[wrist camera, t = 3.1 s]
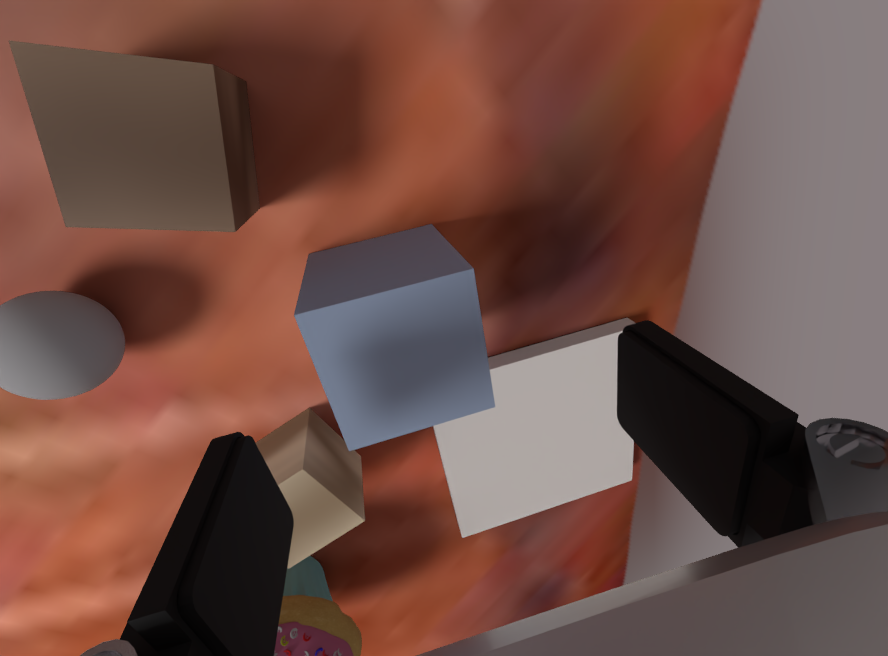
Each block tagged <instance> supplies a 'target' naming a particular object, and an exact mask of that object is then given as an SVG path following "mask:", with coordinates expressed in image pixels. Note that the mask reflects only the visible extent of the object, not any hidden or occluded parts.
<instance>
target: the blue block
mask: <svg viewBox="0 0 888 656" xmlns="http://www.w3.org/2000/svg"><path fill="white" fill-rule="evenodd" d="M294 316H295V319H296V321H297V324H298V326H299V329H300V331H301V334H302V336H303V339H304V341H305V344H306V346H307V348H308V351H309V353H310V356H311V358H312V361H313V363H314V366H315V368H316V371H317V373H318V376H319V378H320V381H321V383H322V386H323V388H324V391H325V393H326V396H327V398H328V400H329V403H330V405H331V408H332V410H333V413H334V415H335V418H336V420H337V423H338V425H339V428H340V430H341V433H342V435H343V438H344V440H345V443H346V445H347V448H348V450H349V451H352V450H356V449H359V448H362V447H365V446H369V445H372V444H375V443H379V442H382V441H385V440H388V439H392V438H395V437H398V436H402V435H405V434H408V433H411V432H415V431H418V430H421V429H425V428H428V427H431V426H435V425H438V424H441V423H444V422H448V421H451V420H454V419H458V418H461V417H464V416H467V415H471V414H474V413H477V412H481V411H484V410H487V409H490V408H494V407H495V401H494V395H493V388H492V382H491V376H490V369H489V363H488V357H487V350H486V344H485V338H484V331H483V325H482V318H481V312H480V306H479V299H478V293H477V287H476V280H475V274H474V268H473V267H472V266H471V265H470V264H469V263H468V262H467V261H466V260H465V259H464V258H463V257H462V256H461V255H460V254H459V253H458V252H457V250H456V249H455V248H454V247H453V246H452V245H451V244H450V243H449V242H448V241H447V240H446V239H445V238H444V237H443V236H442V235H441V234H440V233H439V232H438V230H437V229H436V228H435V227H434V226H433V225H432V224H429V225H425V226H421V227H417V228H413V229H409V230H405V231H401V232H397V233H393V234H388V235H384V236H380V237H376V238H372V239H368V240H364V241H360V242H356V243H352V244H347V245H343V246H339V247H335V248H331V249H327V250H323V251H319V252H315V253H311V254H309V255H308V259H307V264H306V268H305V272H304V276H303V280H302V284H301V289H300V293H299V297H298V301H297V305H296V309H295V313H294Z"/></svg>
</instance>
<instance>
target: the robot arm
mask: <svg viewBox="0 0 888 656" xmlns="http://www.w3.org/2000/svg"><path fill="white" fill-rule="evenodd" d="M617 418H618V421H619V424H620V425H621V427H622V428H623V429H624V431H625V432H626V433H627V434H628V435H629V436H630V437H631V438H632V439H633V440H634V442H635V443H636V444H637V445H638V446H639V447H640V448H641V449H642V450H643V451H644V453H645V454H646V455H647V456H648V457H649V458H650V459H651V460H652V461H653V462H654V464H655V465H656V466H657V467H658V468H659V469H660V470H661V471H662V472H663V473H664V475H665V476H666V477H667V478H668V479H669V480H670V481H671V482H672V483H673V484H674V486H675V487H676V488H677V489H678V490H679V491H680V492H681V493H682V494H683V495H684V497H685V498H686V499H687V500H688V501H689V502H690V503H691V504H692V505H693V506H694V508H695V509H696V510H697V511H698V512H699V513H700V514H701V515H702V516H703V517H704V518H705V520H706V521H707V522H708V523H709V524H710V525H711V526H712V527H713V528H714V529H715V530H716V531H717V532H718V533H719V534H720V535H722V536H728V537H729V538H730V539H731V540H732V541H733V542H734V543H735V544H736V545H737V547H738V548H736V549H733V550H730V551H727V552H724V553H721V554H718V555H715V556H712V557H709V558H706V559H703V560H700V561H697V562H694V563H691V564H688V565H685V566H681V567H679V568H676V569H672V570H670V571H667V572H664V573H660V574H658V575H654V576H651V577H648V578H646V579H642V580H639V581H636V582H633V583H630V584H627V585H624V586H621V587H618V588H615V589H612V590H609V591H606V592H603V593H600V594H597V595H594V596H591V597H588V598H585V599H582V600H579V601H576V602H573V603H570V604H567V605H564V606H561V607H558V608H555V609H552V610H549V611H546V612H543V613H540V614H537V615H534V616H532V617H529V618H526V619H523V620H520V621H517V622H514V623H511V624H508V625H505V626H502V627H499V628H496V629H493V630H490V631H487V632H484V633H481V634H478V635H475V636H472V637H469V638H466V639H463V640H460V641H457V642H455V643H452V644H449V645H446V646H443V647H440V648H437V649H434V650H431V651H428V652H425V653H422V654H420V655H417V656H888V432H887V431H885V430H883V429H881V428H878V427H875V426H872V425H870V424H867V423H864V422H859V421H854V420H850V419H840V418H828V419H820V420H817V421H815V422H812V423H810V424H809V425H808V427H807V428H806V427H804V426H802V425H801V424H800V423H798V422H797V419H798V414H797V413H795V412H793V411H792V410H790V409H789V408H787V407H785V406H784V405H782V404H781V403H779V402H778V401H776V400H774V399H773V398H771V397H770V396H768V395H767V394H765V393H763V392H762V391H760V390H759V389H757V388H755V387H754V386H752V385H751V384H749V383H747V382H746V381H744V380H743V379H741V378H739V377H738V376H736V375H735V374H733V373H732V372H730V371H729V370H727V369H726V368H724V367H722V366H721V365H719V364H717V363H716V362H714V361H713V360H711V359H710V358H708V357H706V356H705V355H703V354H702V353H700V352H699V351H697V350H695V349H694V348H692V347H691V346H689V345H688V344H686V343H684V342H683V341H681V340H680V339H678V338H677V337H675V336H673V335H672V334H670V333H669V332H667V331H666V330H664V329H662V328H661V327H659V326H658V325H656V324H655V323H653V322H651V321H649V320H647V321H642V322H639V323H635V324H631V325H628V326H626V327H624V329H623V333H620V334H619V336H618V355H617ZM293 527H294V519H293V514H292V511H291V509H290V507H289V505H288V503H287V501H286V499H285V498H284V496H283V494H282V492H281V490H280V488H279V486H278V484H277V483H276V481H275V479H274V477H273V475H272V473H271V471H270V469H269V468H268V466H267V464H266V462H265V460H264V458H263V456H262V454H261V453H260V451H259V449H258V447H257V445H256V443H255V441H254V440H253V438H252V437H251V436H244V435H243V434H242V433H241V432H236V433H232V434H229V435H225V436H221V437H218V438H215V439H213V440H212V441H211V442H210V444H209V446H208V448H207V451H206V453H205V455H204V457H203V459H202V461H201V464H200V466H199V468H198V470H197V472H196V474H195V476H194V479H193V481H192V483H191V485H190V487H189V489H188V492H187V494H186V496H185V498H184V500H183V502H182V504H181V507H180V509H179V511H178V513H177V515H176V517H175V520H174V522H173V524H172V526H171V528H170V530H169V532H168V535H167V537H166V539H165V541H164V543H163V545H162V548H161V550H160V552H159V554H158V556H157V558H156V561H155V563H154V565H153V567H152V569H151V571H150V573H149V576H148V578H147V580H146V582H145V584H144V586H143V589H142V591H141V593H140V595H139V597H138V599H137V601H136V604H135V606H134V608H133V610H132V612H131V614H130V617H129V619H128V621H127V625H126V627H125V629H124V631H123V633H122V635H121V638H120V640H119V639H115V640H111V641H106V642H103V643H101V644H99V645H97V646H95V647H93V648H91V649H89V650H87V651H86V652H84V653H83V654H81V655H80V656H274V651H275V645H276V638H277V632H278V625H279V619H280V612H281V606H282V599H283V593H284V586H285V579H286V573H287V566H288V560H289V553H290V547H291V540H292V534H293Z"/></svg>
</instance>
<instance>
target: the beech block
mask: <svg viewBox="0 0 888 656" xmlns="http://www.w3.org/2000/svg"><path fill="white" fill-rule="evenodd" d="M256 445H257V447H258V449H259V451H260V453H261V454H262V456H263V458H264V460H265V462H266V464H267V466H268V468H269V469H270V471H271V473H272V475H273V477H274V479H275V481H276V483H277V484H278V486H279V488H280V490H281V492H282V494H283V496H284V498H285V499H286V501H287V503H288V505H289V507H290V509H291V511H292V514H293V519H294V527H293V534H292V540H291V547H290V553H289V560H288V566H287V568H288V569H289V568H291V567H292V566H294V565H296V564H297V563H299V562H300V561H302V560H304V559H305V558H307V557H308V556H310V555H311V554H313V553H315V552H316V551H318V550H319V549H321V548H323V547H324V546H326V545H327V544H329V543H331V542H332V541H334V540H335V539H337V538H339V537H340V536H342V535H343V534H345V533H346V532H348V531H350V530H351V529H353V528H354V527H356V526H358V525H359V524H361V523H362V522H364V521H365V513H364V497H363V481H362V465H361V456H360V455H359V454H358V453H357V452H356V451H355V450H352V451H349V450H348V448H347V445H346V443H345V441H344V440H343V439H342V438H341V437H340V436H339V435H338V434H337V433H336V432H335V431H334V430H333V429H332V428H331V427H330V426H329V425H327V424H326V423H325V422H324V421H323V420H322V419H321V418H320V417H319V416H318V415H317V414H316V413H315V412H314V411H313V410H312V409H311V408H310V407H309V408H308V409H306V410H305V411H303V412H302V413H300V414H299V415H297V416H296V417H294V418H293V419H291V420H290V421H288V422H287V423H285V424H283V425H282V426H280V427H279V428H277V429H276V430H274V431H273V432H271V433H270V434H268V435H267V436H265V437H264V438H262V439H261V440H259V441H257V442H256Z"/></svg>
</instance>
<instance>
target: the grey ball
mask: <svg viewBox="0 0 888 656" xmlns="http://www.w3.org/2000/svg"><path fill="white" fill-rule="evenodd" d="M124 350H125V337H124V333H123V330H122V327H121V325H120V323H119V321H118V320H117V319H116V317H115V316H114V315H113V314H112V313H111V312H110V311H109V310H108V309H107V308H105V307H104V306H103V305H101V304H100V303H98V302H96V301H94V300H92V299H90V298H88V297H85V296H82V295H79V294H75V293H70V292H63V291H40V292H34V293H29V294H25V295H22V296H18V297H16V298H14V299H11V300H9V301H7V302H5V303H4V304H2V305H0V387H1V388H3V389H4V390H6V391H8V392H11V393H13V394H16V395H19V396H23V397H27V398H33V399H43V400H49V399H63V398H68V397H72V396H76V395H80V394H82V393H85V392H87V391H90V390H92V389H94V388H95V387H97V386H99V385H100V384H102V383H103V382H104V381H105V380H107V379H108V378H109V377H110V376H111V375H112V374H113V373H114V372H115V370H116V369H117V368H118V366H119V364H120V362H121V360H122V358H123V355H124Z"/></svg>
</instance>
